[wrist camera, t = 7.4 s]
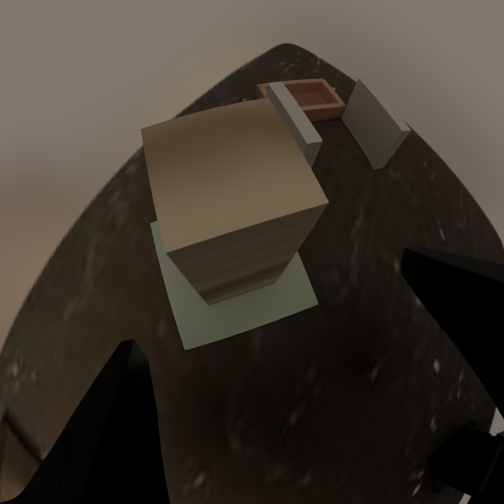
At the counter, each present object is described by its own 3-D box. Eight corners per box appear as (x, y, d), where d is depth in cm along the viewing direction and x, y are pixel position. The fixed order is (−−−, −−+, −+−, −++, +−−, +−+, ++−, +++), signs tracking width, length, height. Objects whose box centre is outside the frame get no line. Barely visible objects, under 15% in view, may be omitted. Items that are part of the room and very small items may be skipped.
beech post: (275, 283, 19) (328, 202, 8) (208, 305, 19) (165, 253, 7) (251, 221, 21) (268, 97, 9) (188, 241, 20) (141, 129, 9)
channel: (383, 167, 24) (410, 130, 18) (291, 189, 22) (307, 143, 17) (349, 118, 26) (367, 78, 20) (261, 131, 24) (268, 83, 19)
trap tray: (340, 118, 26) (346, 106, 24) (273, 128, 24) (275, 114, 23) (319, 91, 27) (323, 78, 25) (255, 98, 26) (256, 84, 24)
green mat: (317, 304, 19) (318, 304, 19) (186, 350, 18) (185, 350, 18) (269, 189, 22) (269, 187, 22) (151, 225, 21) (150, 223, 20)
